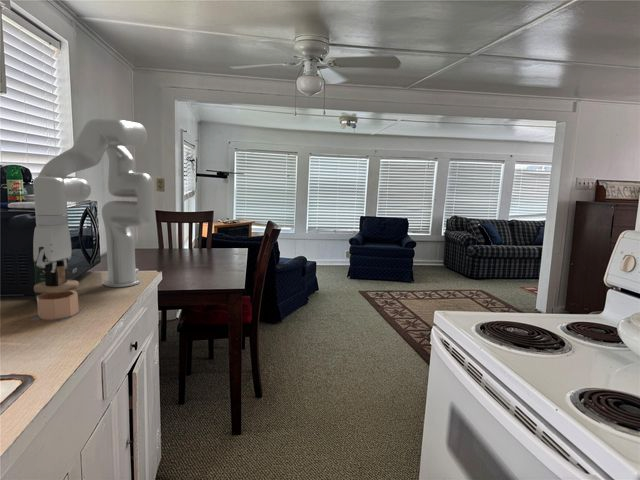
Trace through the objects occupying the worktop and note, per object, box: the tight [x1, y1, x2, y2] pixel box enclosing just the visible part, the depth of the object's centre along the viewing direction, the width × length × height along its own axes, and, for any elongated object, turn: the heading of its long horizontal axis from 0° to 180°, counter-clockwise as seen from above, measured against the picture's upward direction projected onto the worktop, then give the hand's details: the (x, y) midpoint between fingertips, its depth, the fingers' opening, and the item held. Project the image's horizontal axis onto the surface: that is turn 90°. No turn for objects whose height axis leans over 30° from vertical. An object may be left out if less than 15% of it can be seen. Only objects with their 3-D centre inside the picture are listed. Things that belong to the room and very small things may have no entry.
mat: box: [29, 309, 86, 322], centre depth 117 cm, size 10×10×1 cm
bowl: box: [36, 290, 79, 320], centre depth 116 cm, size 9×9×6 cm
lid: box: [33, 266, 80, 293], centre depth 115 cm, size 11×11×6 cm
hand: (56, 283), depth 115 cm, fingers closed on lid, 3 cm apart
